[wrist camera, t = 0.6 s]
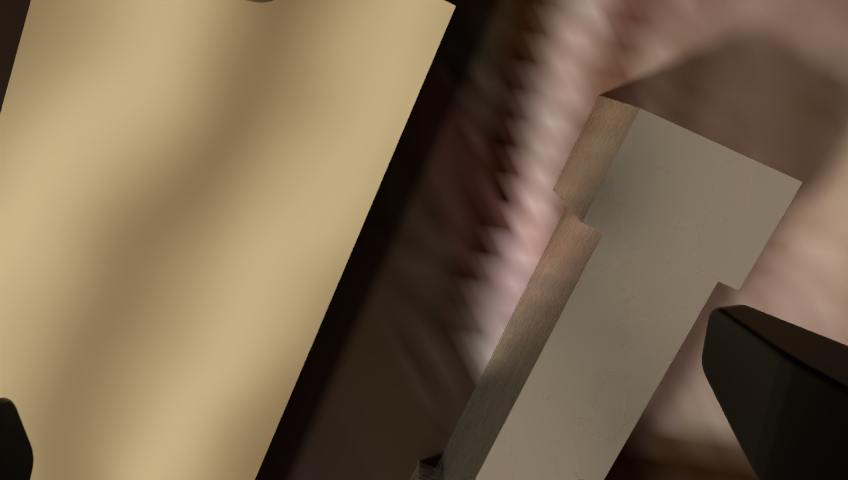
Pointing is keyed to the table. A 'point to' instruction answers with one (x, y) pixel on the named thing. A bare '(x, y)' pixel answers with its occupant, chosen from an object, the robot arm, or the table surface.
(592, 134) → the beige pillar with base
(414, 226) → the table surface
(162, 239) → the beige wooden board
